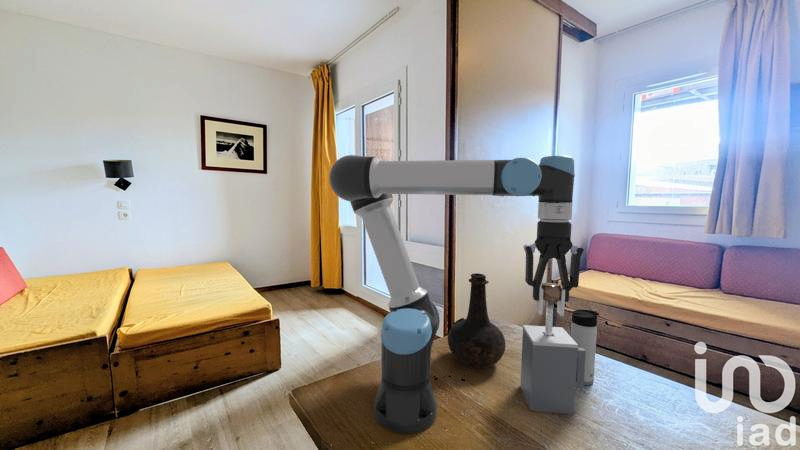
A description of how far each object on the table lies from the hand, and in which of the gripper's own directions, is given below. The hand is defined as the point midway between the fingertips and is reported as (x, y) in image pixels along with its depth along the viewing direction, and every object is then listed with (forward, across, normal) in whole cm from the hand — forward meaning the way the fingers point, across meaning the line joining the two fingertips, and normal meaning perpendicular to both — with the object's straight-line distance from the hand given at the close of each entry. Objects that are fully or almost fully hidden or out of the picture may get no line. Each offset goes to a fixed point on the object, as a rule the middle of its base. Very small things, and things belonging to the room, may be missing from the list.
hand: (549, 313), depth 79 cm
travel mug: (+23, +13, +11) cm, 29 cm away
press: (+23, +2, 0) cm, 23 cm away
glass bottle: (+23, -16, +17) cm, 33 cm away
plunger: (+16, 0, 0) cm, 16 cm away
